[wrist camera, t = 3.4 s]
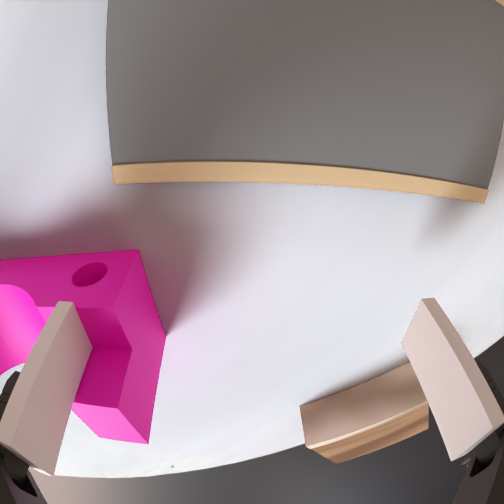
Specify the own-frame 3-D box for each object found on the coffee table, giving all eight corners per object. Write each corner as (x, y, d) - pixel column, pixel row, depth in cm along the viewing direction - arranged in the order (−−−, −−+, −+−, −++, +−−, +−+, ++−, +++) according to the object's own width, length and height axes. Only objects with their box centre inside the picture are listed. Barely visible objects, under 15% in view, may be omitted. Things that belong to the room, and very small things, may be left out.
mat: (119, 178, 12) (113, 184, 11) (124, -75, 5) (119, -80, 5) (477, 197, 13) (484, 203, 12) (501, -1, 6) (510, -1, 6)
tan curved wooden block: (428, 428, 22) (429, 399, 18) (335, 464, 24) (305, 446, 20) (416, 396, 26) (411, 358, 21) (329, 431, 28) (299, 404, 23)
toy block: (140, 244, 14) (90, 370, 8) (167, 331, 18) (148, 444, 11) (-34, 259, 14) (-88, 330, 8) (1, 323, 17) (-36, 395, 11)
